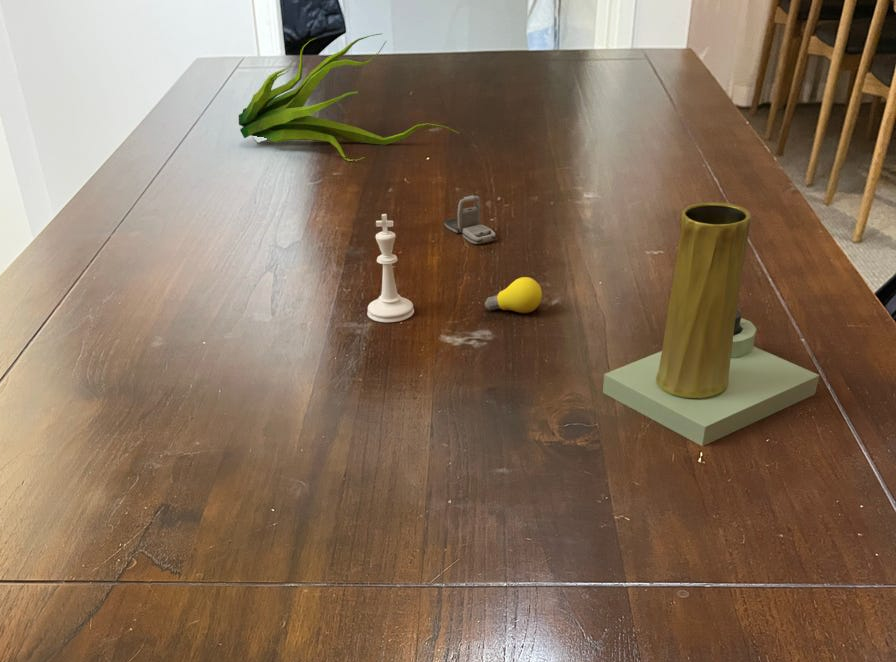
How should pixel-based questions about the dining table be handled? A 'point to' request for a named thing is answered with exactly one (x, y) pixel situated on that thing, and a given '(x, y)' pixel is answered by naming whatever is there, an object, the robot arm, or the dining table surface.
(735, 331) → the button
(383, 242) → the chess piece
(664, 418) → the green mounting base
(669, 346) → the vase
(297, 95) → the decorative plant
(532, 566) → the dining table surface
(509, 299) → the light bulb
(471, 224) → the strap clip
